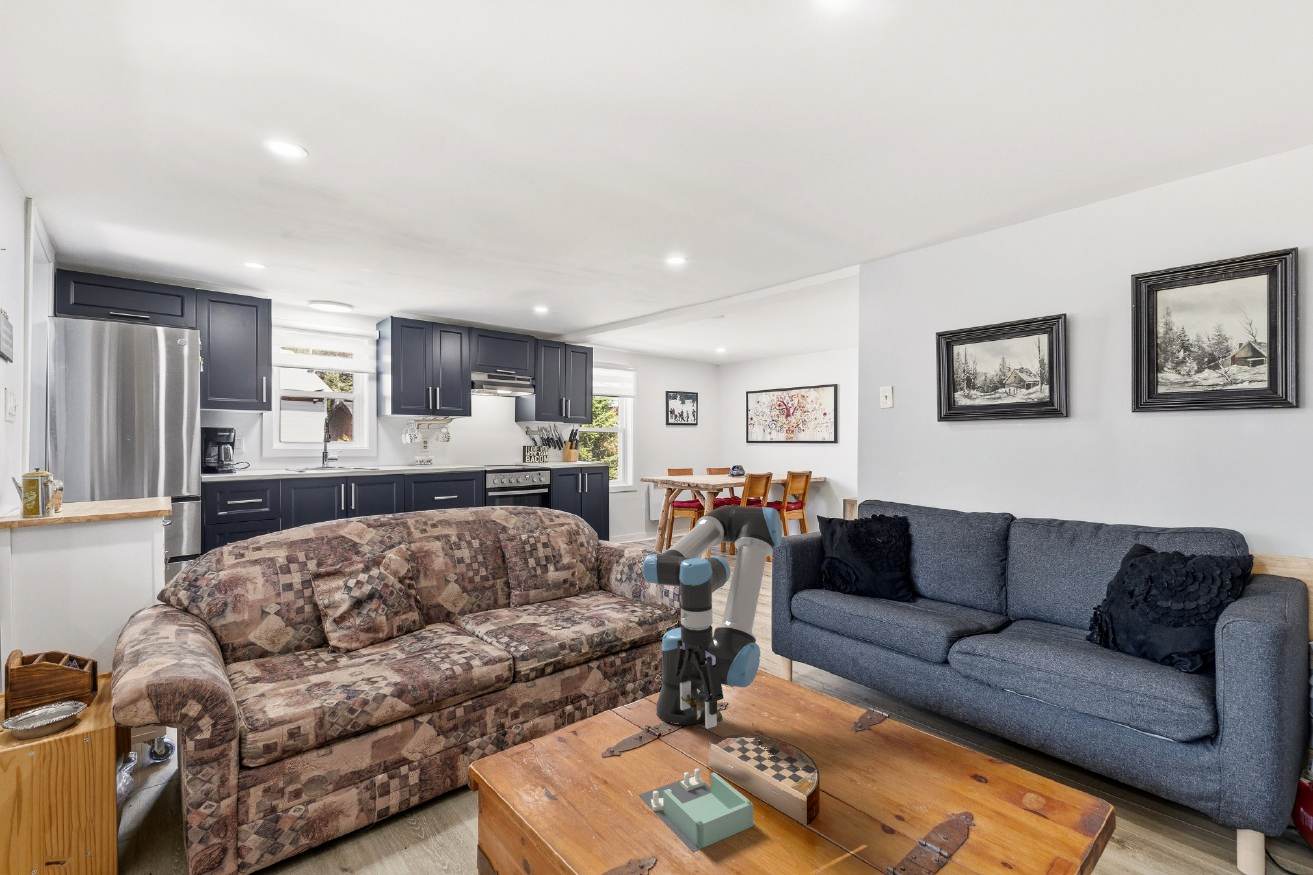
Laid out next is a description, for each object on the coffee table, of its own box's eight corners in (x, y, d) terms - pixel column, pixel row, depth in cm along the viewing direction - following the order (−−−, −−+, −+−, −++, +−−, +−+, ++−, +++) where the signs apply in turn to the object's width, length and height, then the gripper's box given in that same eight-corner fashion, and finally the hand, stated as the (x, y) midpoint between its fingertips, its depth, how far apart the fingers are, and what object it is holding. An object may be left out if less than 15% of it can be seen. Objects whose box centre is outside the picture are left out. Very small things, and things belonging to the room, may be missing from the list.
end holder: (714, 792, 133) (714, 772, 133) (753, 825, 122) (753, 803, 122) (663, 812, 126) (663, 790, 126) (699, 849, 115) (699, 825, 115)
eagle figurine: (677, 714, 146) (708, 718, 141) (682, 683, 150) (712, 686, 144) (695, 721, 151) (725, 725, 145) (700, 691, 154) (730, 694, 149)
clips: (696, 778, 138) (696, 765, 138) (713, 793, 133) (713, 779, 133) (641, 798, 131) (641, 784, 131) (657, 814, 125) (656, 800, 125)
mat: (695, 776, 140) (695, 774, 140) (755, 826, 122) (755, 824, 122) (638, 796, 132) (638, 794, 132) (692, 854, 114) (692, 851, 114)
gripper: (658, 615, 154) (660, 702, 154) (711, 642, 134) (713, 742, 135) (683, 610, 158) (685, 695, 158) (738, 635, 138) (739, 732, 139)
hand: (698, 717), depth 147 cm, fingers closed on eagle figurine, 10 cm apart
